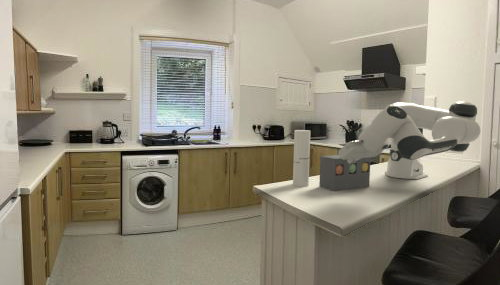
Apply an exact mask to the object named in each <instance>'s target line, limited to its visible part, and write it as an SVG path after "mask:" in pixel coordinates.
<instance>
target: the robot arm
mask: <svg viewBox="0 0 500 285" xmlns="http://www.w3.org/2000/svg"><path fill="white" fill-rule="evenodd" d="M477 115H478V107H477V106H476V105H475V104H473V103H471V102H469V101H462V100H461V101H456V102H453V103H452V104H451V105H450V106H449V108H448V109H443V108H438V107H432V106H426V105H419V104H417V103H414V102H394V103H391V104H388V105H387V106H386V107H384V109H383V110H381V111H380V112H379V113H378V114H377V115H376V116H375V117H374V118H373V119H372V120H371V124H369V125H367V126H366V128H365V129H364V130H363V131H362V132H361V133H360V134H359V135H358V138H357V140H352V141H351V140H350V141H348V142H347V143H345V144H344V145H343V146H342V147H341V148H340V149H339V150H338V153H337V155H339V156H340V157H341V159H342V160H346V159H348V160H347V162H348V163H349V164H351V163H355V162H356V161H358V160H359V159H361V158H367V157H371V158H375V157H377V156H379V155H380V154H381V153H382V152H384V150H385V149H388V148H389V147H390V149H389V156H390V157H389V158H388V160H387V165H386V166H387V167H386V171H384V174H385V175H386V176H387V177H389V178H390V177H391V178H397V179H408V180H409V179H410V180H420V179H422V178H427V177H428V176H429V174H427V173H425V172H424V166H423V164H422V163H421V162H420V161H419V160H418V159H420V158H423V157H425V156H431V155H436V154H441V153H445V152H448V151H449V152H454V153H460V152H461V153H462V152H465V151H467V149H468V148H469V146H470V143H473V142H475V141H476V140H478V138H479V137H480V135H481V127H480V125H479V123H478V122H476V119H477ZM420 129H423V130H428V131H431V137H432V139H430V140H429V139H427V138H426V137H425V136H424V134H422V132H421V130H420ZM388 139H391V141H390V142H391V143H389V142H388Z"/></svg>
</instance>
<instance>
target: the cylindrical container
mask: <svg viewBox="0 0 500 285" xmlns="http://www.w3.org/2000/svg"><path fill="white" fill-rule="evenodd" d="M293 134H294V135H293V136H294V137H293V140H294V141H293V165H292V166H293V167H292V168H293V171H292V185H293V186H294V187H300V188H301V187H302V188H303V187H305V188H307V187H309V183H310V153H311V152H310V151H311V130H307V129H306V130H305V129H295V130H294V132H293Z"/></svg>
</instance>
